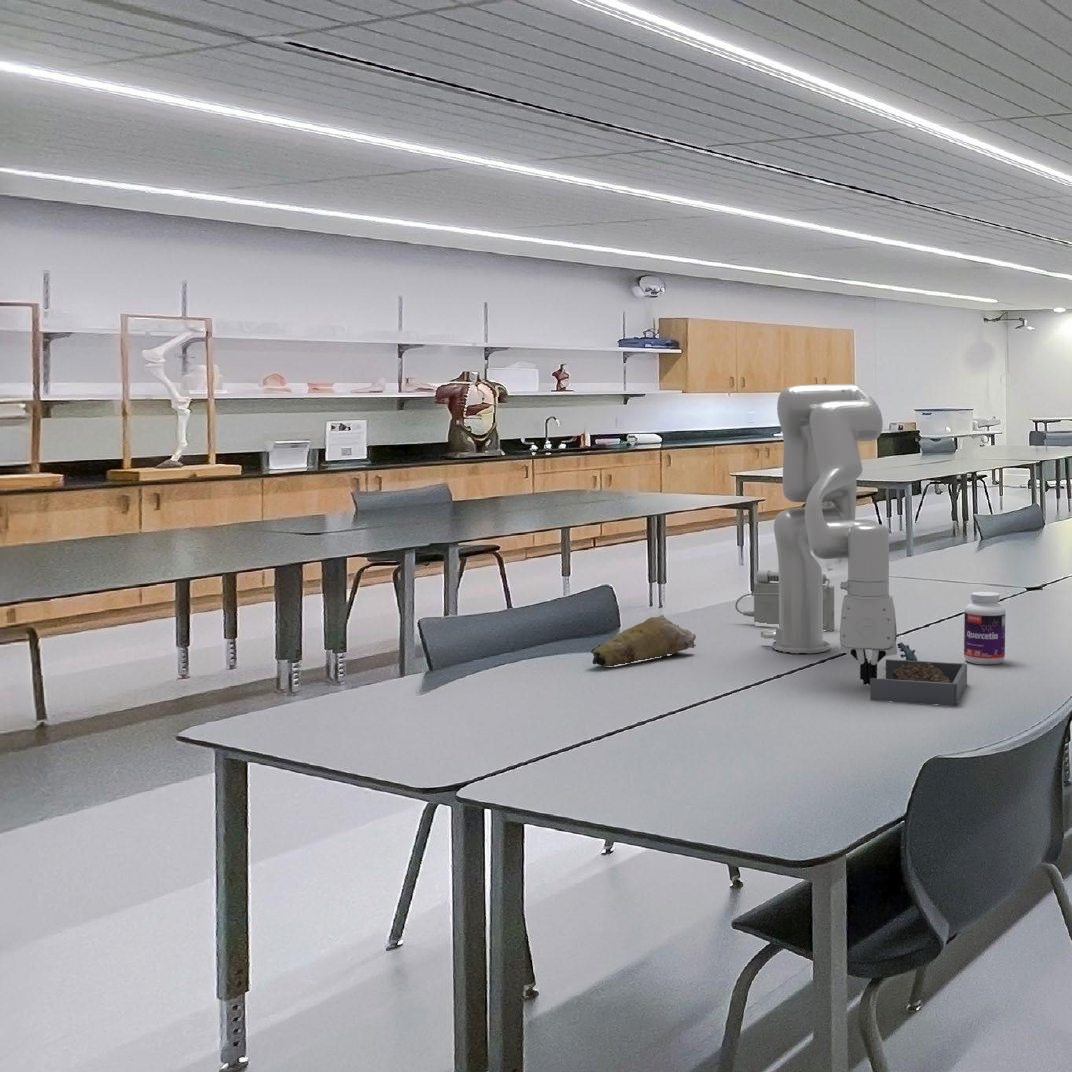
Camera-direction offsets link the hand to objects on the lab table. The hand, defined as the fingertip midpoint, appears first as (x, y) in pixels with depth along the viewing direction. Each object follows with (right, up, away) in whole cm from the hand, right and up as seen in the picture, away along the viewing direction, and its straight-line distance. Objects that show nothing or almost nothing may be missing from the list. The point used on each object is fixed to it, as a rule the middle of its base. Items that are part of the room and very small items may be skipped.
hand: (868, 683), depth 240 cm
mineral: (-41, +1, +32) cm, 52 cm away
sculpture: (+13, 0, +17) cm, 21 cm away
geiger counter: (-3, +6, +67) cm, 67 cm away
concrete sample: (+9, -2, -4) cm, 10 cm away
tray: (+8, -1, -4) cm, 9 cm away
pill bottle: (+30, +2, +21) cm, 36 cm away
